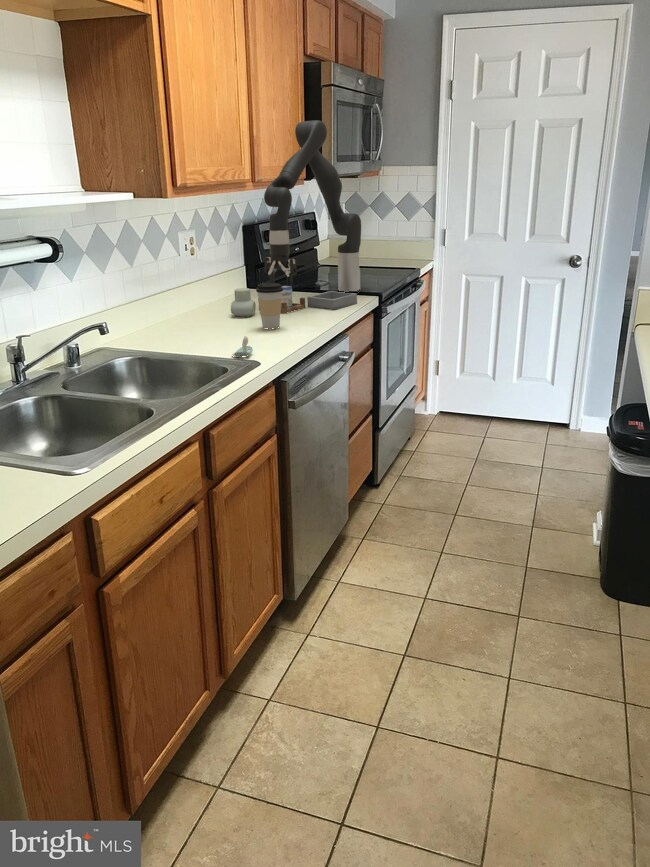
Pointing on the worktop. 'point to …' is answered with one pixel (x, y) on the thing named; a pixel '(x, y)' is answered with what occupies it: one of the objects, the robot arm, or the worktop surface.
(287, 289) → the medicine box
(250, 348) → the pacifier
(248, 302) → the air freshener
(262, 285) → the coffee cup
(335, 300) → the tray
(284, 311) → the holder
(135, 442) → the worktop surface
